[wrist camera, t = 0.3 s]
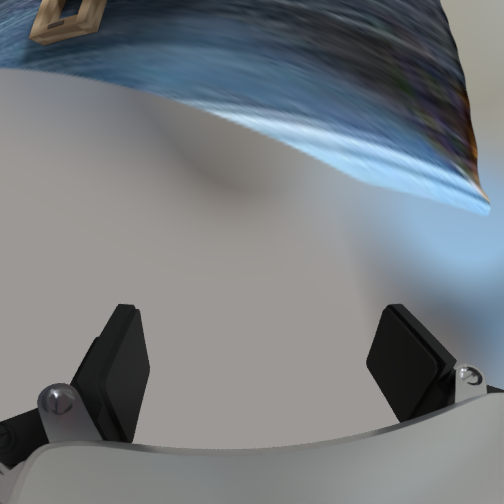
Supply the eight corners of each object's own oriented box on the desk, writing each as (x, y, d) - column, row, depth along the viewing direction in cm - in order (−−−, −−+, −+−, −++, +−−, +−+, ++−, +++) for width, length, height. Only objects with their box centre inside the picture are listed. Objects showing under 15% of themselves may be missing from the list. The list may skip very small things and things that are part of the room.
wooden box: (60, -4, 22) (47, -15, 17) (114, -19, 24) (103, -33, 19) (44, 45, 26) (27, 37, 21) (97, 31, 27) (83, 20, 22)
